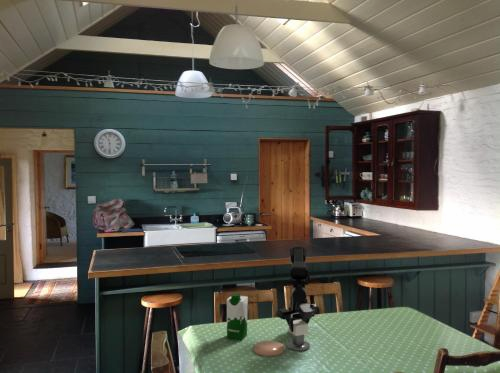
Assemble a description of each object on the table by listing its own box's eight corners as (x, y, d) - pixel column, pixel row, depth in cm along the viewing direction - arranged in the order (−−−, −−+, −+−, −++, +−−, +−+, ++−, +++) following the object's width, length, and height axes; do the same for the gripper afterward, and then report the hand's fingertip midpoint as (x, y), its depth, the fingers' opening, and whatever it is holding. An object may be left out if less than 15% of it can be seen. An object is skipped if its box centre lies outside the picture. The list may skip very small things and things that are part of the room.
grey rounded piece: (282, 344, 189) (282, 329, 188) (302, 340, 193) (302, 326, 193) (293, 353, 180) (294, 337, 179) (314, 349, 184) (314, 334, 184)
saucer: (248, 346, 186) (248, 343, 186) (275, 341, 191) (275, 339, 191) (261, 358, 174) (262, 355, 174) (290, 353, 180) (290, 350, 179)
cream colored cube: (288, 331, 187) (288, 321, 187) (300, 329, 190) (300, 319, 190) (295, 336, 182) (295, 326, 182) (308, 333, 184) (308, 323, 184)
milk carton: (224, 339, 193) (224, 295, 192) (231, 332, 202) (232, 289, 201) (242, 342, 191) (243, 297, 190) (249, 334, 199) (249, 291, 198)
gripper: (289, 303, 174) (288, 341, 175) (327, 298, 182) (327, 334, 182) (276, 295, 184) (275, 332, 185) (313, 291, 192) (312, 325, 193)
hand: (298, 331), depth 186 cm, fingers closed on cream colored cube, 6 cm apart
